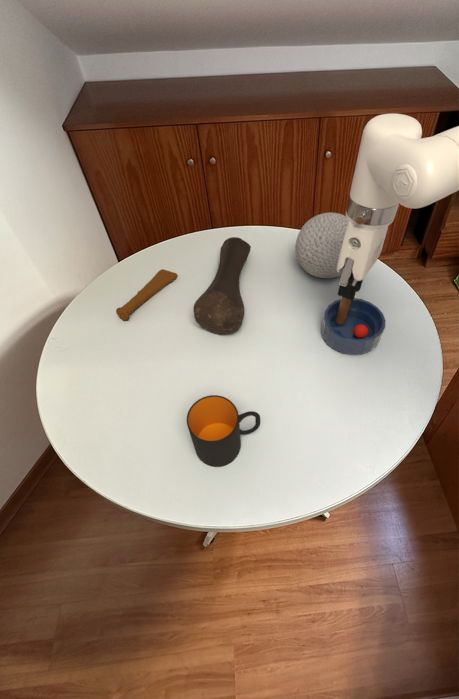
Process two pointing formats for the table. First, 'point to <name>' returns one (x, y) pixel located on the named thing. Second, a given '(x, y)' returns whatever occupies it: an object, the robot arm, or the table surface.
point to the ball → (360, 331)
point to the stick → (343, 309)
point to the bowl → (343, 334)
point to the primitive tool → (146, 293)
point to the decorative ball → (321, 244)
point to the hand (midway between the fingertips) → (348, 292)
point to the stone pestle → (224, 291)
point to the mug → (217, 429)
